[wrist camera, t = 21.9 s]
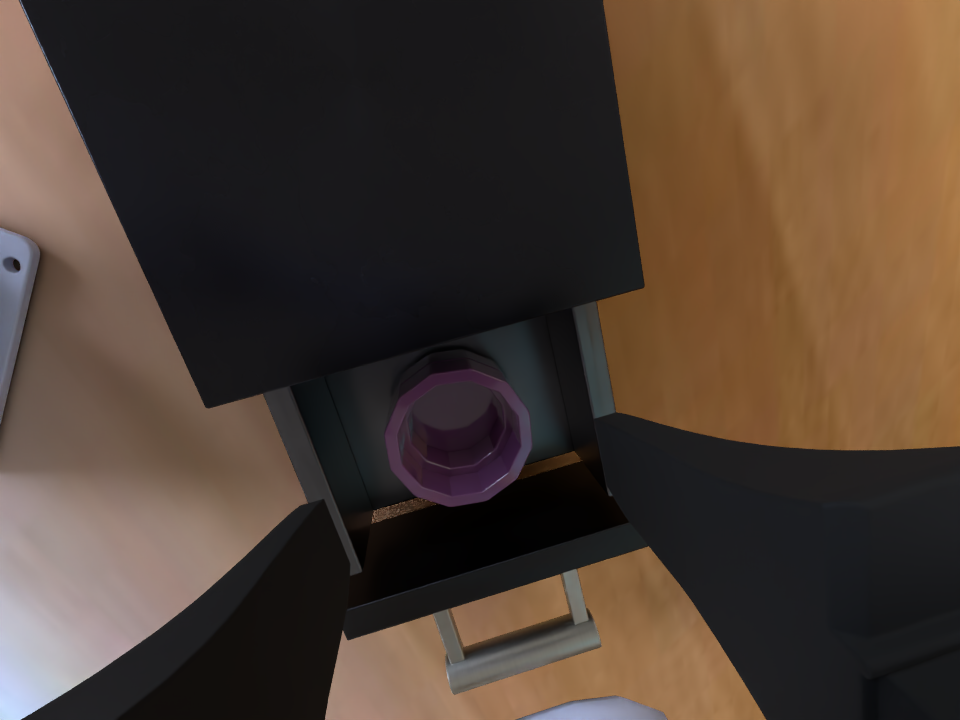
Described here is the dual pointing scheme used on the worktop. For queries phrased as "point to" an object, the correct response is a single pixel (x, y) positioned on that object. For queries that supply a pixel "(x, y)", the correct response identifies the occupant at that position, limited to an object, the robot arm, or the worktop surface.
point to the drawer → (473, 527)
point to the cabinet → (349, 170)
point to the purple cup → (456, 429)
